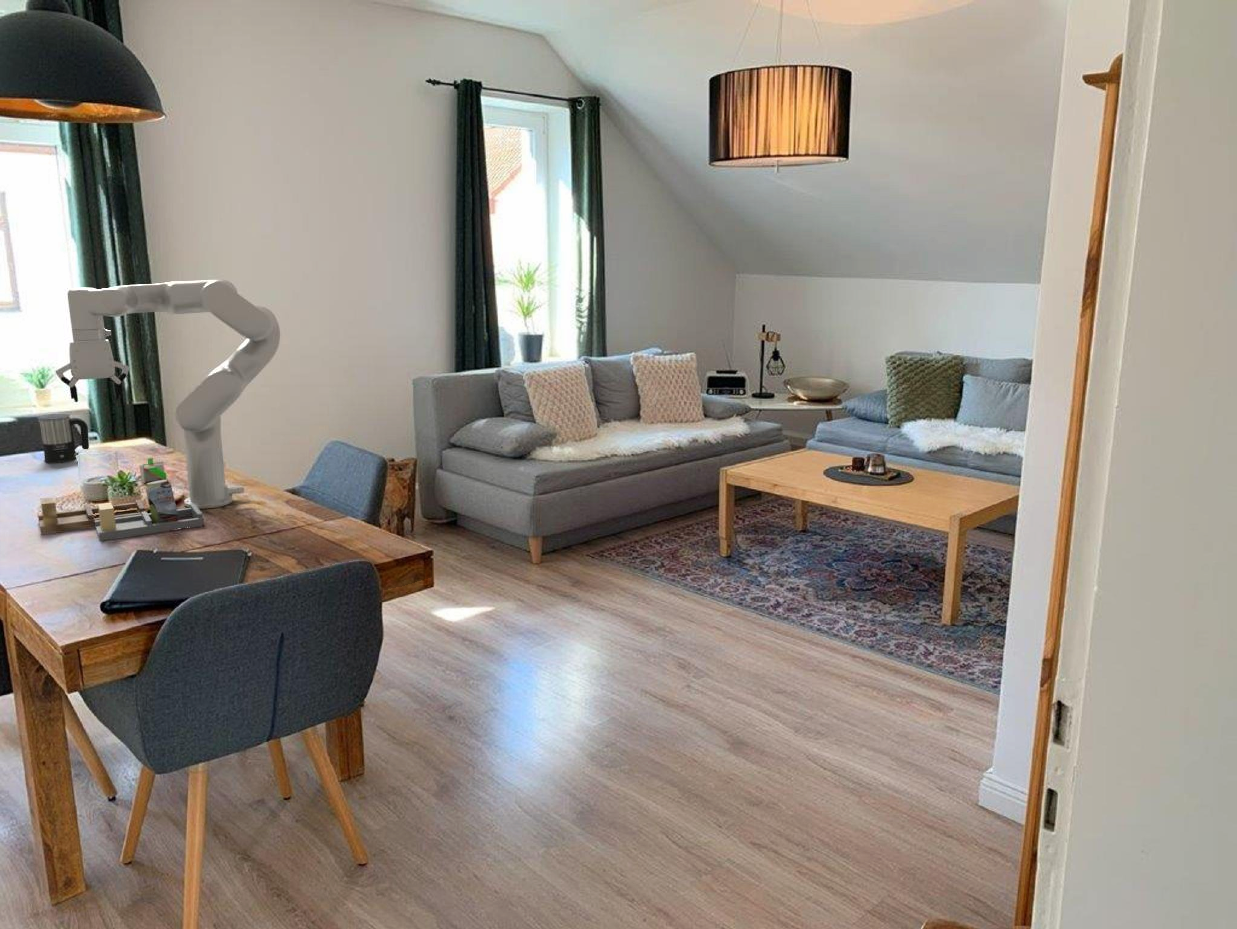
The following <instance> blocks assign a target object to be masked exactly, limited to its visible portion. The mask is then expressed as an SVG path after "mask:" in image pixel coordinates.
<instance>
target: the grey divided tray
mask: <svg viewBox="0 0 1237 929" xmlns="http://www.w3.org/2000/svg"><path fill="white" fill-rule="evenodd" d="M112 505H113V504H112V502H105V503H97V507H98V511H99V516H98V518H99V519H100V520H96V521H95V527H94V528H95V530H96V533H97V536H98V540H99V541H102V542H103V541H107V540H108V541H109V540H116V539H123V538H129V537H136V536H142V535H149V534H155V533H156V534H158V533H163V532H162V531H165V532H169V531H168V530H172V531H176V530H175V529H178V528H185V529H190V528H189V527H192V528H199V527H203V526H202V525H204V526H205V521H204V519H205V518H204V516H203V515H204V514H203V512H202V511H201V510H200V509H199V508H198V507H197V506H196V505H191V508H189V507H184V508H179V509H177V513H178V518H179V520H178V521H172V522H165V523H158V524H153V520H152V515H151V512H149V513H148V512H147V511H146V510H145V511H144V512H141V514H140V515H133V516H126V517H118V518H115V516H116V515H115V513H114V508H113V506H112ZM189 517H192V518H189ZM180 518H186V519H182V520H180ZM187 518H189V519H187ZM198 526H199V527H198ZM187 527H188V528H187ZM178 530H179V529H178Z"/></svg>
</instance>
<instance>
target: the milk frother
mask: <svg viewBox="0 0 1237 929" xmlns="http://www.w3.org/2000/svg"><path fill="white" fill-rule="evenodd" d="M70 417H71V415H70V414H68V413H53V414H52V413H51V414H46V415H45V414H44V415H41V416H38V417H37V420H38V422H39V426H40V434H41V440H42V447H43V454H44V459H43V461H44V463H50V464H54V463H55V464H57V463H66V462H71V461H73V460H76V459H77V456H76V450H77V449H78V447H79V442H75V439H74V432H73V427H72V425H77V426H79V427H80V428H79V429H80V438H81V439H80V440H81V441H80V442H81V448H82V450H84V449H87V450H89V449H90V440H89V427H88V424H87V422H86V421H85V420H83V419H82V418H80V417H79V418H78V417H71V418H70Z"/></svg>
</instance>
